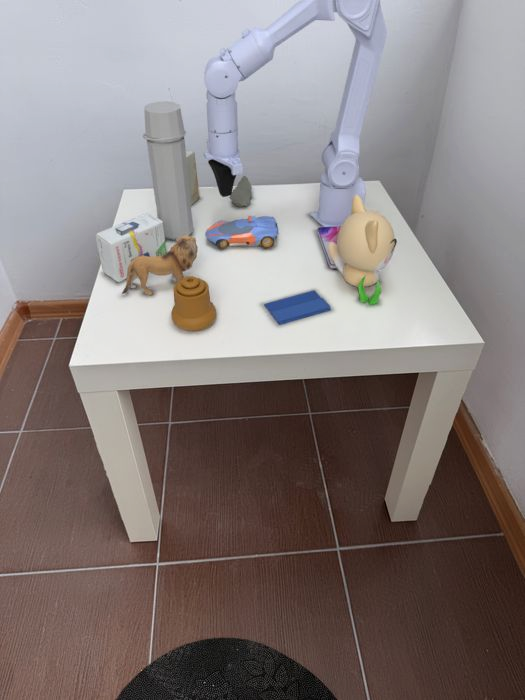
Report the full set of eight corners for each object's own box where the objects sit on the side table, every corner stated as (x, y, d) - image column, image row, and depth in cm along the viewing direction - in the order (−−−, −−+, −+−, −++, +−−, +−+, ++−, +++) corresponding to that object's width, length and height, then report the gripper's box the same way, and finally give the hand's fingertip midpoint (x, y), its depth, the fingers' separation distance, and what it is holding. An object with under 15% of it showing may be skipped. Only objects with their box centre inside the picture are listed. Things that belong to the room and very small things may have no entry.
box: (200, 198, 119) (196, 151, 112) (190, 206, 116) (186, 158, 109) (181, 194, 121) (176, 147, 113) (171, 201, 118) (165, 154, 110)
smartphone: (330, 265, 97) (316, 227, 108) (329, 269, 97) (316, 230, 108) (367, 263, 97) (349, 225, 108) (366, 267, 98) (349, 228, 109)
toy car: (205, 231, 108) (204, 208, 104) (275, 229, 109) (276, 206, 105) (205, 251, 102) (203, 227, 98) (279, 249, 103) (280, 225, 99)
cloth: (314, 291, 92) (314, 288, 92) (330, 310, 88) (331, 307, 88) (264, 305, 89) (264, 302, 89) (279, 325, 85) (279, 322, 85)
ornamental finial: (211, 302, 89) (220, 329, 84) (169, 309, 88) (175, 336, 83) (208, 264, 84) (217, 290, 79) (163, 270, 83) (169, 297, 77)
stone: (226, 206, 116) (247, 213, 116) (227, 198, 114) (248, 205, 115) (239, 179, 124) (258, 185, 125) (240, 172, 123) (260, 178, 123)
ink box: (148, 211, 96) (92, 232, 90) (164, 221, 94) (108, 243, 87) (153, 250, 102) (101, 272, 96) (169, 260, 100) (117, 284, 93)
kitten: (401, 303, 90) (419, 227, 80) (346, 309, 88) (358, 233, 78) (372, 258, 101) (385, 186, 90) (323, 263, 99) (331, 190, 89)
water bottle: (200, 236, 106) (189, 110, 89) (164, 245, 103) (146, 116, 86) (185, 217, 112) (172, 95, 95) (151, 225, 109) (131, 101, 92)
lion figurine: (195, 269, 97) (190, 227, 91) (205, 284, 94) (201, 241, 88) (119, 288, 92) (109, 245, 86) (126, 304, 89) (117, 261, 83)
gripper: (190, 119, 101) (196, 184, 110) (216, 144, 91) (220, 213, 101) (223, 114, 103) (226, 178, 113) (252, 138, 94) (252, 206, 103)
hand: (225, 194), depth 107 cm, fingers closed
